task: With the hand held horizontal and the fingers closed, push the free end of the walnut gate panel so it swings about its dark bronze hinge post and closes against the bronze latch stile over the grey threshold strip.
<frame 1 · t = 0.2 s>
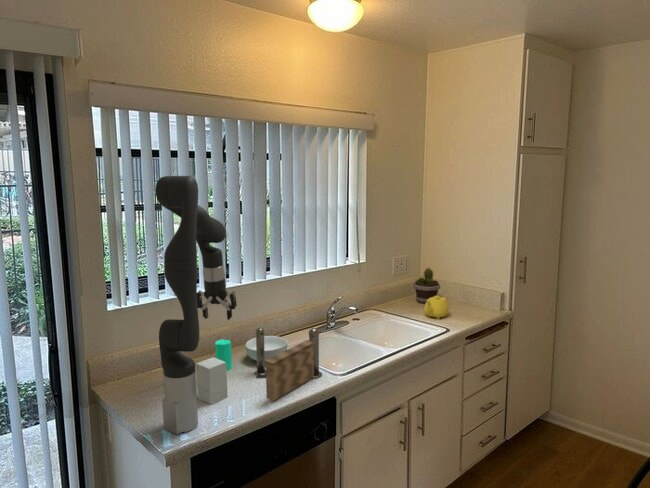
hand: (217, 318, 185), 22 cm above the worktop, tool pointing down, fingers open, 8 cm apart
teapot: (435, 316, 259), on the worktop
candle: (224, 368, 196), on the worktop
cereal bowl: (266, 359, 205), on the worktop
gate: (291, 368, 177), point 7 cm above the worktop, hinge at 0.0°
flowerpot: (426, 302, 287), on the worktop
supplement box: (212, 398, 172), on the worktop
gate posts: (314, 375, 189), on the worktop
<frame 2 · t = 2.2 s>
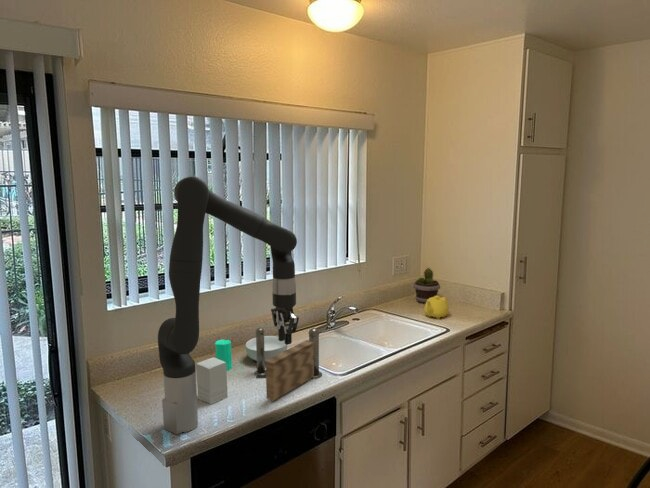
hand: (285, 342, 164), 21 cm above the worktop, tool pointing down, fingers open, 3 cm apart
nothing on the worktop moved.
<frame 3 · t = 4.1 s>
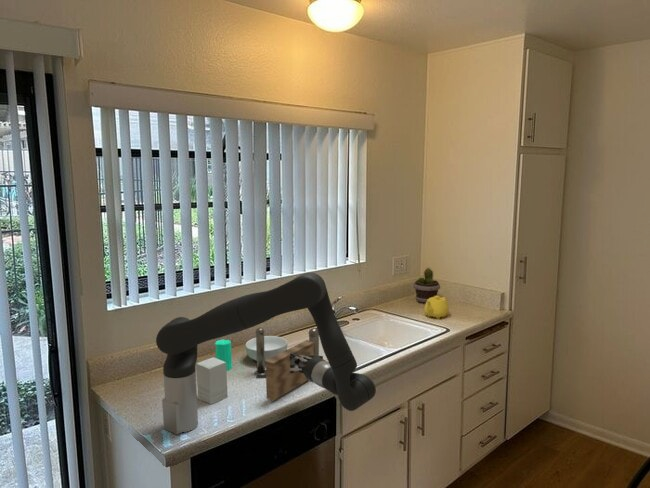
hand: (291, 355, 167), 16 cm above the worktop, tool horizontal, fingers closed
nothing on the worktop moved.
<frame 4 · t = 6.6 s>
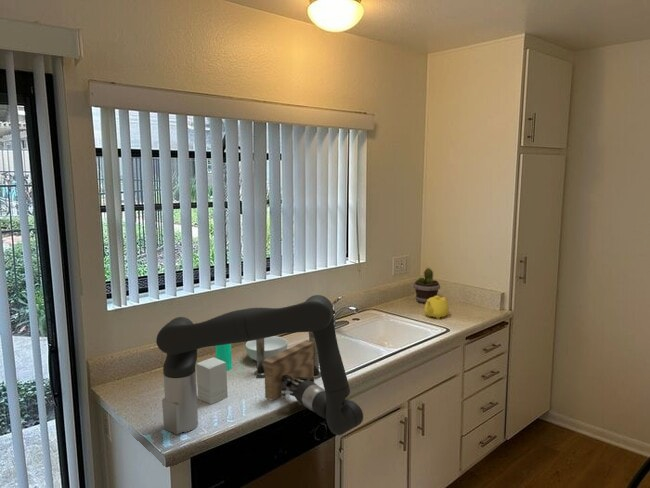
hand: (284, 377, 172), 6 cm above the worktop, tool horizontal, fingers closed
gate: (290, 368, 177), point 7 cm above the worktop, hinge at 1.4°, touching gripper
everything else where it was.
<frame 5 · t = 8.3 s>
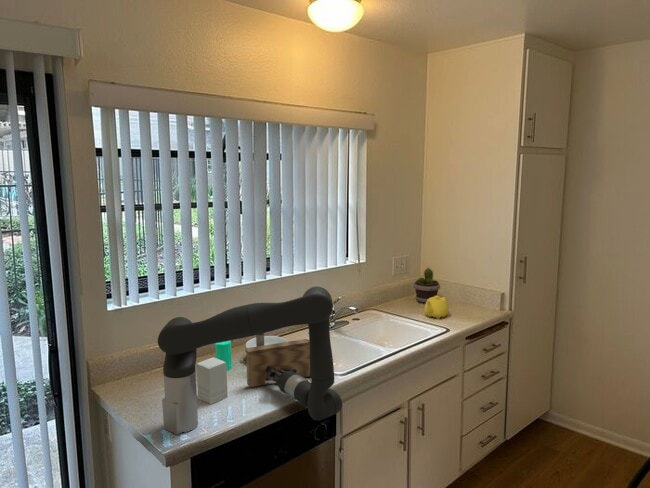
hand: (268, 368, 179), 6 cm above the worktop, tool horizontal, fingers closed
gate: (278, 362, 183), point 7 cm above the worktop, hinge at 31.7°, touching gripper
everything else where it was.
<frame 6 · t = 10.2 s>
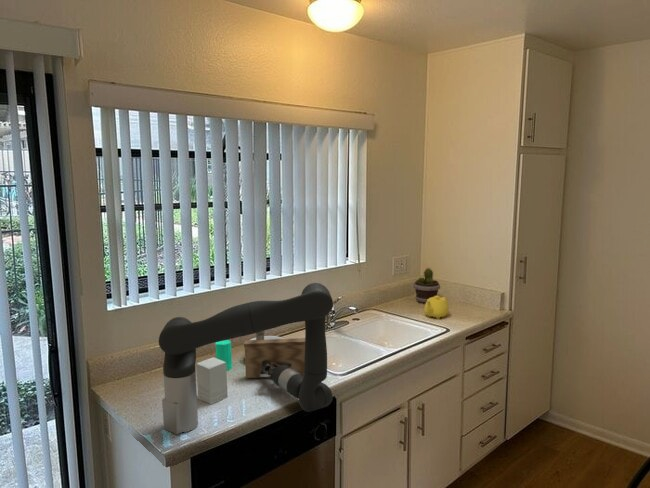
hand: (264, 363, 185), 6 cm above the worktop, tool horizontal, fingers closed
gate: (276, 357, 187), point 7 cm above the worktop, hinge at 49.7°, touching gripper
everything else where it was.
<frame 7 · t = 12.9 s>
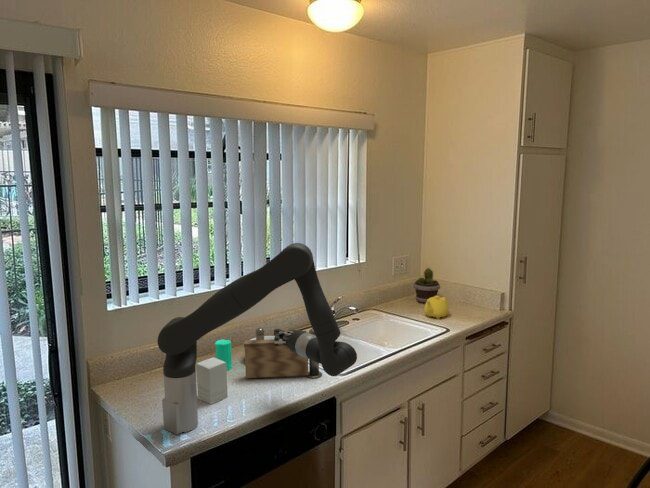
hand: (275, 331, 173), 22 cm above the worktop, tool horizontal, fingers closed
gate: (276, 357, 187), point 7 cm above the worktop, hinge at 49.7°
everything else where it was.
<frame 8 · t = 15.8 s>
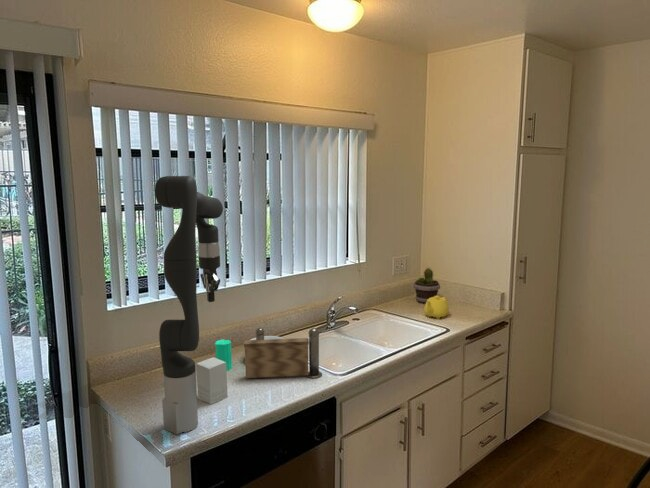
hand: (211, 301, 183), 29 cm above the worktop, tool pointing down, fingers closed
nothing on the worktop moved.
at the end: gate at +50° (first picture: +0°) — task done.
